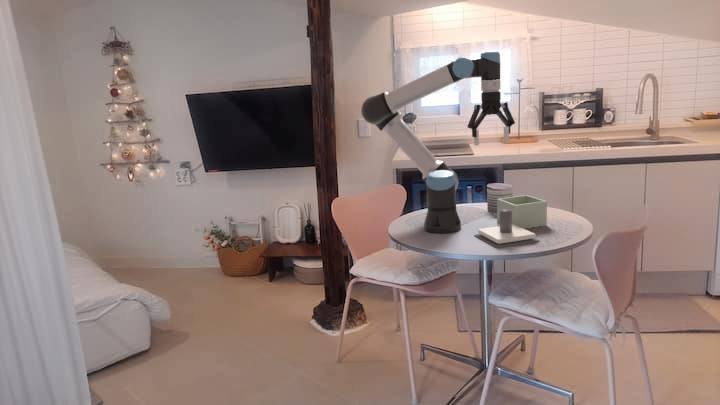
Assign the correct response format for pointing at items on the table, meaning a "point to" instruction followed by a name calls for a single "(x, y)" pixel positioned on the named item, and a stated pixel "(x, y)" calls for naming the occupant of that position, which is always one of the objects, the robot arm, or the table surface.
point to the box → (524, 210)
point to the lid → (506, 230)
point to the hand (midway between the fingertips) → (491, 143)
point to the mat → (505, 243)
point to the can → (497, 195)
